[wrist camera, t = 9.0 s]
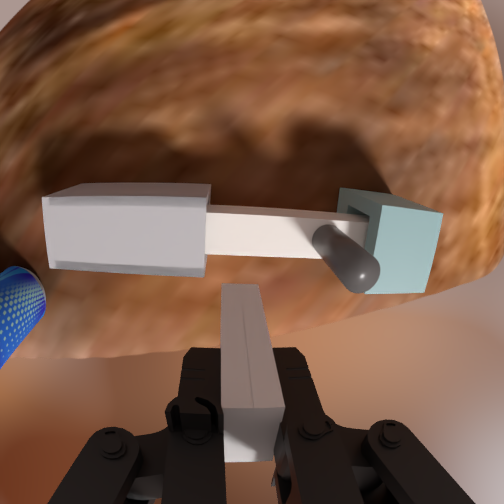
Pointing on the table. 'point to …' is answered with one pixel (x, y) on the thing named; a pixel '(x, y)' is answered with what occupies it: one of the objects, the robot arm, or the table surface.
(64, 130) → the table surface
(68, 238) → the white rectangular box
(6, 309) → the beer can
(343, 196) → the socket block
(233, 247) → the sliding bolt with handle
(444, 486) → the robot arm
